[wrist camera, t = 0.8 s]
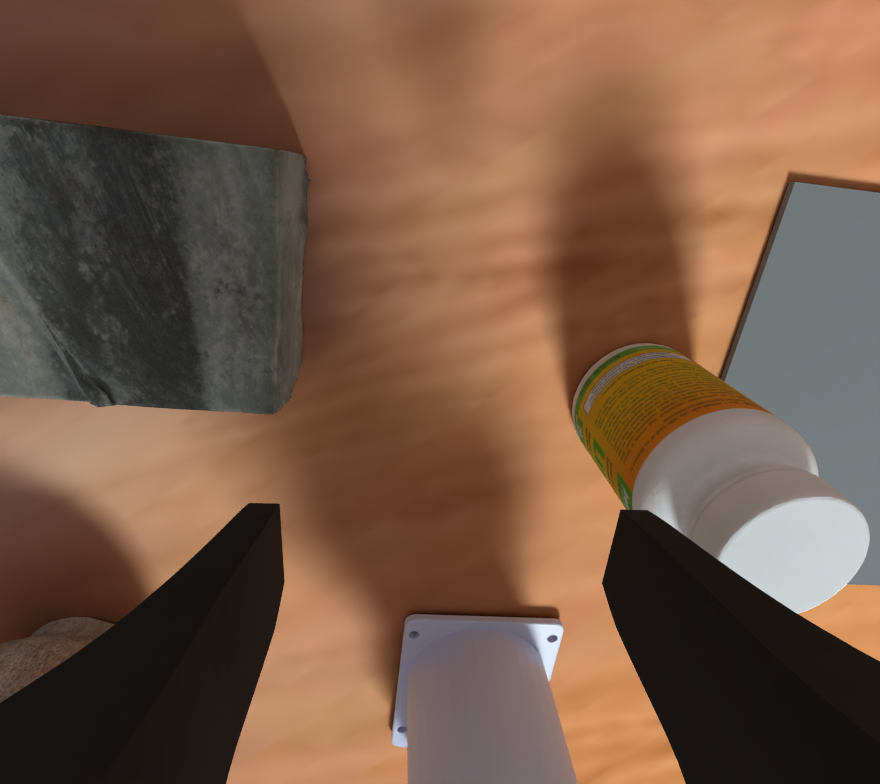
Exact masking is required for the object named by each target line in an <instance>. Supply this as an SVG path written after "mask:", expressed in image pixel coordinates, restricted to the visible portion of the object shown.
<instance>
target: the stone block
mask: <svg viewBox="0 0 880 784" xmlns="http://www.w3.org/2000/svg"><path fill="white" fill-rule="evenodd" d="M305 164H306V157H305V156H304V155H302V154H299V153H295V152H291V151H285V150H280V149H272V148H265V147H257V146H248V145H239V144H232V143H224V142H216V141H208V140H201V139H193V138H185V137H177V136H169V135H161V134H153V133H145V132H137V131H128V130H121V129H113V128H106V127H99V126H91V125H83V124H75V123H67V122H58V121H50V120H41V119H32V118H24V117H16V116H8V115H0V396H5V397H21V398H40V399H57V400H74V401H89V402H90V404H93V405H95V406H97V407H104V406H113V405H129V406H142V407H156V408H171V409H190V410H207V411H220V412H224V411H230V412H243V413H258V414H276V413H277V411H278V410H280V409H281V407H282V406H283V405H284V404H286V403H287V402H288V401H289V399H290V398H291V392H292V391H293V388H294V385H295V382H296V380H297V374H298V371H299V368H300V365H301V361H302V356H303V351H302V312H301V296H302V281H303V274H304V270H303V266H304V251H305V246H306V241H307V223H308V220H307V199H306V197H307V188H308V185H309V183H308V182H310V180H309V179H308V175H307V172H306V171H305Z"/></svg>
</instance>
